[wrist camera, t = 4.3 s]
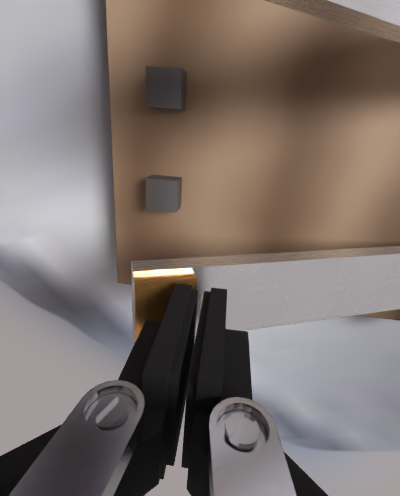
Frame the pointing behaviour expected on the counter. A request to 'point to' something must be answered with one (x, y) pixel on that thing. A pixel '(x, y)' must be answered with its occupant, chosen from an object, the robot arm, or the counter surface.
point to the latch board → (249, 132)
